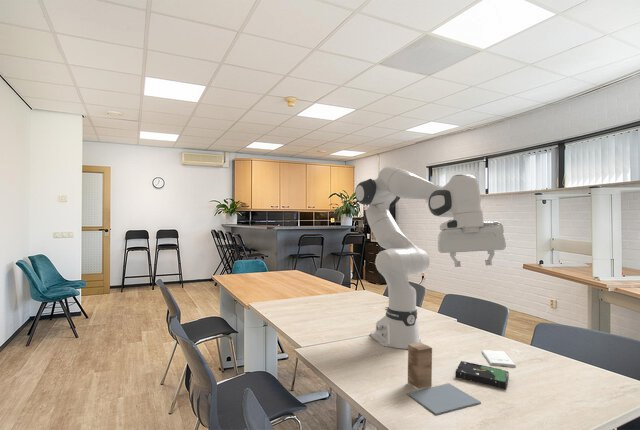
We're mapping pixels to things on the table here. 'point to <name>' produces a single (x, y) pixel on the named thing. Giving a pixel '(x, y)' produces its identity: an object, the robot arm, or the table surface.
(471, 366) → the disk drive
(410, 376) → the walnut block
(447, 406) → the rubber mat
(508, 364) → the external hard drive
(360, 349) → the table surface
